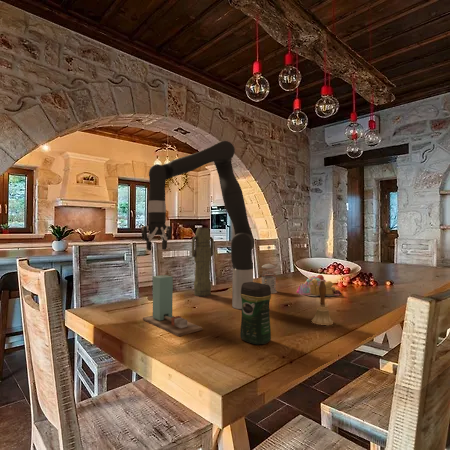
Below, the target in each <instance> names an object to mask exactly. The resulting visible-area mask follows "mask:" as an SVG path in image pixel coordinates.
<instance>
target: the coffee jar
mask: <svg viewBox="0 0 450 450" xmlns="http://www.w3.org/2000/svg"><path fill="white" fill-rule="evenodd" d="M271 298H272V293H271V289H270V286H269V285H267V284H262V282H261V283H260V282H255V281H253V282H246V283H243V284H242V286H241V299H242V309H241V323H240V336H239V337H240V339H241V340H242V341H244V342H247V343H250V344H252V345H265V344H268V343H269V342H270V341H271V340H272V334H271V333H272V331H271V318H270V302H271V301H270V300H271Z"/></svg>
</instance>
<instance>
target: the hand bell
mask: <svg viewBox="0 0 450 450" xmlns="http://www.w3.org/2000/svg"><path fill="white" fill-rule="evenodd" d="M319 294H320V296H319V297H320V298H319V299H320V302H319V304H320V305H319V306H318V307H317V308H316V311H315V314H314V317H313V318H312V319H311V321H312V322H313V323H316V324H321V325H329V324H333V322H334V321H333V320H332V318H331V316H330V310H329V308H327V307H326V302H325V300H326V296H325V294H326V286H325V283H324V281H321V282H320V285H319ZM311 321H310V322H311ZM312 322H311V323H312ZM313 323H312V324H313Z"/></svg>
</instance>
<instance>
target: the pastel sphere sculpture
mask: <svg viewBox="0 0 450 450" xmlns="http://www.w3.org/2000/svg"><path fill="white" fill-rule="evenodd" d="M321 281H324V283H325V286H326V294H325V297H336V296H340V295H342V292H341V291H340V290H339V289H336V287H334V283H333V282H332V281H331V280H328V281H326V279H325V277H324V276H323V275H322V274H318V275H312V276H308V277H307V279H306V281H304V284H303V283H301V282H299V285H298V288H297V290H296V293H297V294H299V295H301V296H303V295H304V296H309V297H320V294H319V285H320V282H321Z"/></svg>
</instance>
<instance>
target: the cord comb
mask: <svg viewBox="0 0 450 450" xmlns="http://www.w3.org/2000/svg"><path fill="white" fill-rule="evenodd" d="M142 321H145V322H146V323H149V324H151V325H152V326H155V327H158V328H160V329H162V330H164V331H167V332H168V333H170V334H173V335H175V336H176V337H181V336H184V335H189V334H191V333H195V332H199V331H203V327H202V326H199V325H197V324H195V323H192V322H189V321H188V319H185V318H183V317H182V316H181V315H176V316H174V315H172V317H168V316H166V315H164V320H161V321H159V320H157V319H154V318H153V315H150V316H149V315H148V316H145V317H144V316H143V317H142Z"/></svg>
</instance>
